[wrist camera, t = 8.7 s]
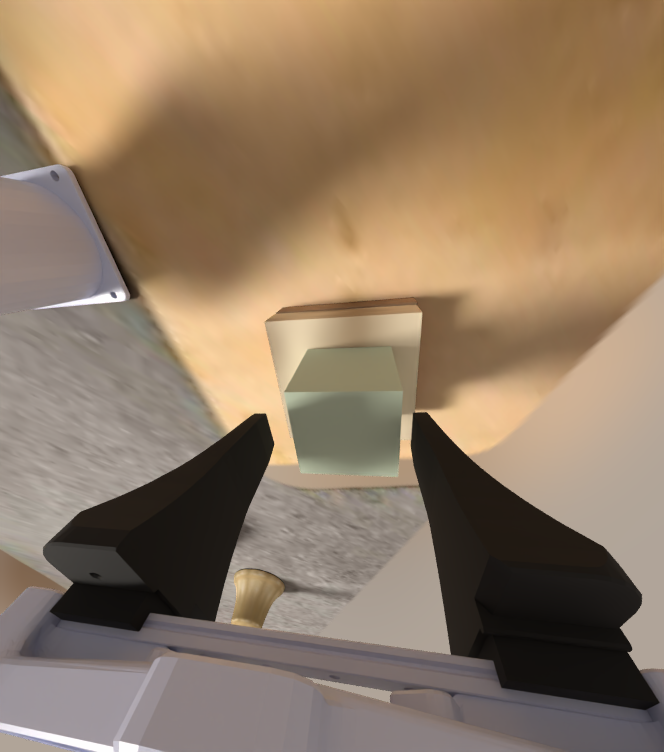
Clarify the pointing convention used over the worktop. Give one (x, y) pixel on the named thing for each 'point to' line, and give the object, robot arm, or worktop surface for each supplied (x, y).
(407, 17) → the worktop surface
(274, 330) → the slab top
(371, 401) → the cube
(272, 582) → the hand bell
